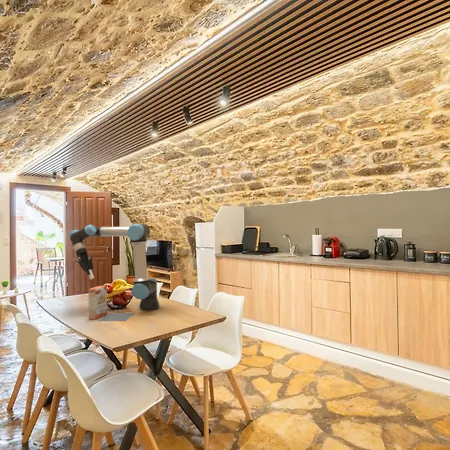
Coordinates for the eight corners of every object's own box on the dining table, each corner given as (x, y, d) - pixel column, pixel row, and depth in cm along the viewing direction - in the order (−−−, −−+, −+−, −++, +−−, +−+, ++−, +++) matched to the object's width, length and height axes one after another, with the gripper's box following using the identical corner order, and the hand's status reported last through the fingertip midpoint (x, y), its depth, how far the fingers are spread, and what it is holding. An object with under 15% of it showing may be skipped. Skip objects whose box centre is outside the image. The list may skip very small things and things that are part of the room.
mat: (135, 313, 246) (134, 312, 246) (125, 320, 226) (125, 320, 226) (109, 313, 247) (109, 313, 247) (97, 321, 227) (97, 320, 227)
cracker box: (96, 319, 230) (95, 289, 230) (88, 319, 231) (87, 288, 231) (107, 314, 244) (106, 285, 244) (100, 314, 245) (99, 285, 245)
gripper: (84, 251, 257) (96, 279, 251) (70, 252, 245) (81, 282, 240) (90, 247, 254) (102, 275, 248) (76, 247, 242) (88, 277, 237)
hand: (92, 278), depth 244 cm, fingers closed
